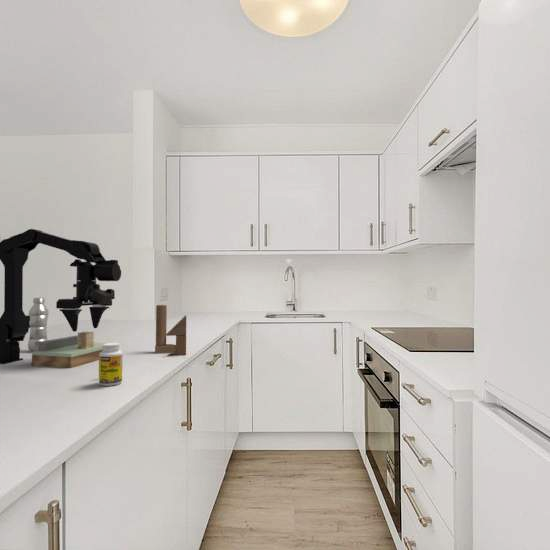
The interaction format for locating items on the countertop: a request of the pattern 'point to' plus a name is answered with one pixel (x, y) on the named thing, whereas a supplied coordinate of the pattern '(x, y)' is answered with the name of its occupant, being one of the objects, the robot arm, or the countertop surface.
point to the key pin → (85, 340)
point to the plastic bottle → (37, 323)
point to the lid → (64, 347)
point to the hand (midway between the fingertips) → (85, 329)
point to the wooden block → (169, 334)
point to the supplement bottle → (110, 365)
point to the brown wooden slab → (65, 360)
